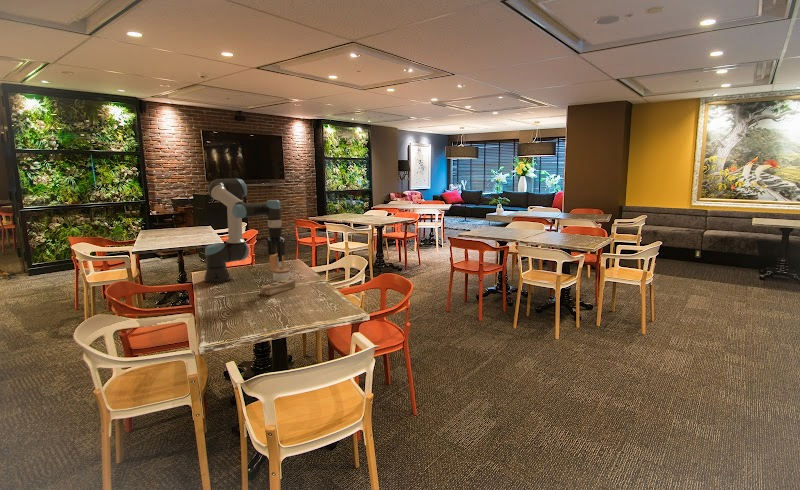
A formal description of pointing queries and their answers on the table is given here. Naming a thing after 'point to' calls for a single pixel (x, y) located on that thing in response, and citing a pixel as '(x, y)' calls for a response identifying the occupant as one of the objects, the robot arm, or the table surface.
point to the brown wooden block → (277, 287)
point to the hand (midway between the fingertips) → (277, 266)
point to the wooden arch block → (273, 262)
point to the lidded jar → (281, 274)
